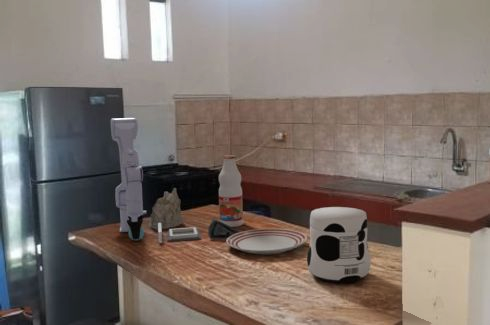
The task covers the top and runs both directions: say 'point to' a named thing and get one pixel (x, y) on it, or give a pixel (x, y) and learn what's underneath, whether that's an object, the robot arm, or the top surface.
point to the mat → (183, 234)
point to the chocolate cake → (220, 230)
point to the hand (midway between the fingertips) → (136, 236)
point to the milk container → (338, 244)
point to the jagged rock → (166, 211)
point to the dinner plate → (266, 241)
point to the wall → (159, 232)
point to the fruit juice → (230, 193)
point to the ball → (140, 234)
